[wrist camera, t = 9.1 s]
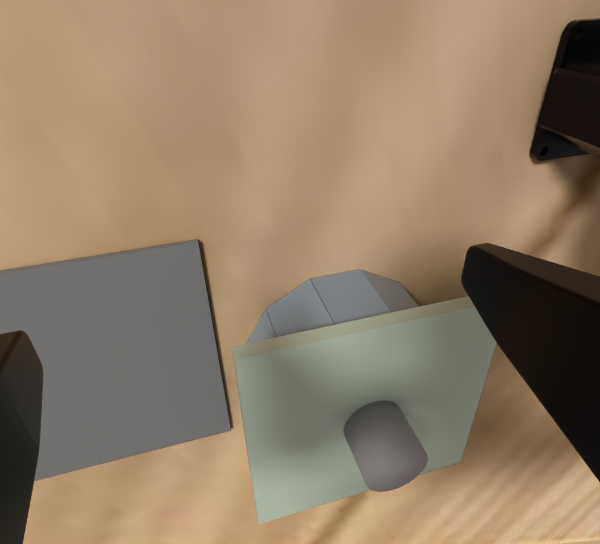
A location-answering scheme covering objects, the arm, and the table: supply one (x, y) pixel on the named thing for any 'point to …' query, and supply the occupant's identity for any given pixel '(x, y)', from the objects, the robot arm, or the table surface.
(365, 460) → the lid
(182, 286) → the mat
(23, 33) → the table surface
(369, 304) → the bowl
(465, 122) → the table surface
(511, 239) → the table surface
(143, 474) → the table surface
